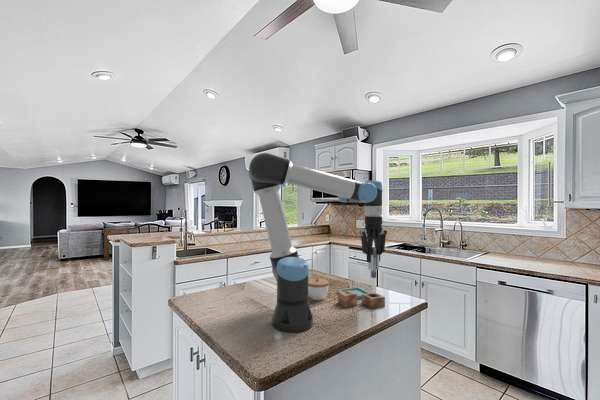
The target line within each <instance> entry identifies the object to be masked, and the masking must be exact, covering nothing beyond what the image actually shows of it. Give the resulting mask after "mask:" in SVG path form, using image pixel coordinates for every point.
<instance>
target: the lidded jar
mask: <svg viewBox="0 0 600 400" xmlns="http://www.w3.org/2000/svg"><path fill="white" fill-rule="evenodd" d="M329 283H330V282H329V280H327V279H324V278H319V277H316V278H311V279H309V278H308V297H309V298H310V299H311V300H313V301H323V300H324V299H325V298H326V296H327V295H328V292H329V287H330V286H329Z"/></svg>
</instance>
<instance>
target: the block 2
mask: <svg viewBox="0 0 600 400" xmlns="http://www.w3.org/2000/svg"><path fill="white" fill-rule="evenodd" d="M361 304H363V305H365V306H366V307H368V308H369V309H377V308H382V307H385V306H386V297H385V296H384V295H381V294H379V293H377V292H370V293H366V294H362V299H361Z"/></svg>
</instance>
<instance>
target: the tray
mask: <svg viewBox="0 0 600 400" xmlns="http://www.w3.org/2000/svg"><path fill="white" fill-rule="evenodd" d="M348 290H350V291H352V292H354V293H356V294H357V300H362V294H366V293H371V292H370V291H367V290H366V289H363V288H361V287H359V286H357V287H347V288H339V289H337V293H338V292H340V291H348Z"/></svg>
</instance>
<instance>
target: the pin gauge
mask: <svg viewBox="0 0 600 400" xmlns="http://www.w3.org/2000/svg"><path fill="white" fill-rule="evenodd" d="M371 255H373V270H370V278H373V279H376V278H377V269H376V257H377V250H376V247H375V246H372V254H371Z"/></svg>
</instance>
